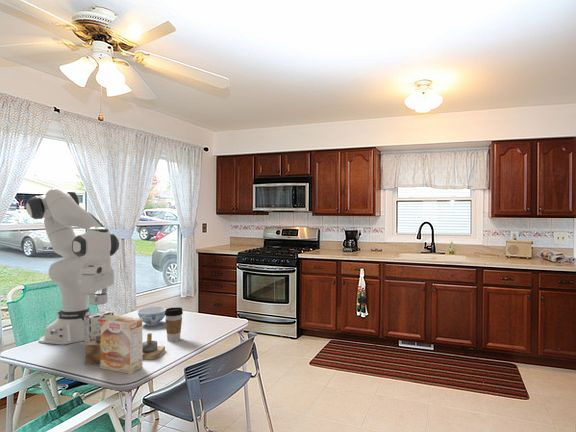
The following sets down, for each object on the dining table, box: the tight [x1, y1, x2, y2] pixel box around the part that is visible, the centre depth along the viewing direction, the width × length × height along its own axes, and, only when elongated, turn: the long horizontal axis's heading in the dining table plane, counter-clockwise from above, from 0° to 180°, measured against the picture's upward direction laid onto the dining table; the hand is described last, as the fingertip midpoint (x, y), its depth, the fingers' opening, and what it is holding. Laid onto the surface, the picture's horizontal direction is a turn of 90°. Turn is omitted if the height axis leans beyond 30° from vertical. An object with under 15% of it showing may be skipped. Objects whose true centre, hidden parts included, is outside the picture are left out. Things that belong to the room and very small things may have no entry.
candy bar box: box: [83, 310, 114, 348], centre depth 168 cm, size 11×5×16 cm, turn 148°
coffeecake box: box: [99, 314, 143, 375], centre depth 150 cm, size 15×7×20 cm, turn 69°
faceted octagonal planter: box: [88, 292, 109, 306], centre depth 156 cm, size 6×6×4 cm
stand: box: [84, 335, 101, 366], centre depth 156 cm, size 7×7×10 cm
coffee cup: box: [165, 306, 184, 343], centre depth 184 cm, size 8×8×15 cm
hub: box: [142, 332, 166, 360], centre depth 164 cm, size 10×10×9 cm
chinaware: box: [137, 306, 167, 327], centre depth 209 cm, size 15×15×8 cm
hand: (98, 300), depth 156 cm, fingers closed on faceted octagonal planter, 6 cm apart
